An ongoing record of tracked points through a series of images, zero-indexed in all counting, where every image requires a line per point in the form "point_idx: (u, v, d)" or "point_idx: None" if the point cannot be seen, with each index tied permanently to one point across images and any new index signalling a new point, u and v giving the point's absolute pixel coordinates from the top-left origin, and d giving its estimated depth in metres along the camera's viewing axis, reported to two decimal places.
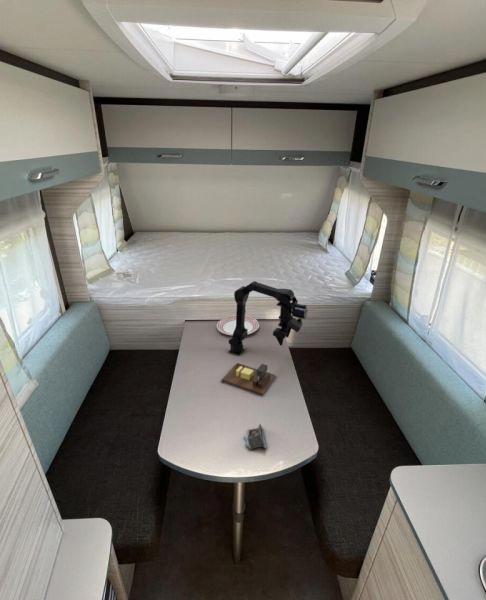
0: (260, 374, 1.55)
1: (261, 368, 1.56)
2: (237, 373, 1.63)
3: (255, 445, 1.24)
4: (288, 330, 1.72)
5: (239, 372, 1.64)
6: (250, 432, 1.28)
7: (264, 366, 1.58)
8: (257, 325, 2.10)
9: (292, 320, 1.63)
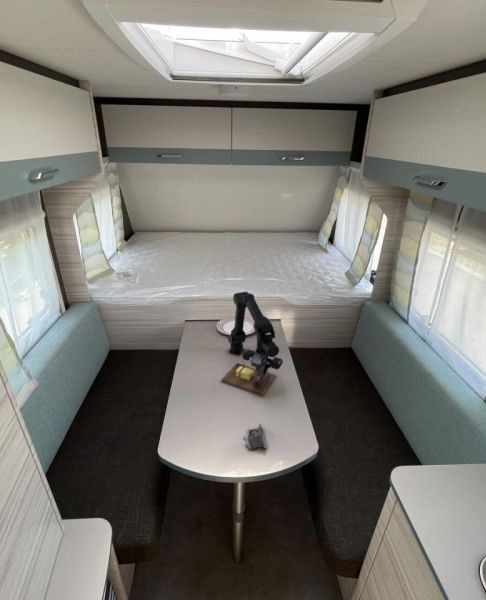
0: (260, 374, 1.55)
1: (261, 368, 1.56)
2: (237, 373, 1.63)
3: (256, 445, 1.24)
4: None
5: (239, 372, 1.64)
6: (250, 432, 1.28)
7: None
8: None
9: (259, 354, 1.50)
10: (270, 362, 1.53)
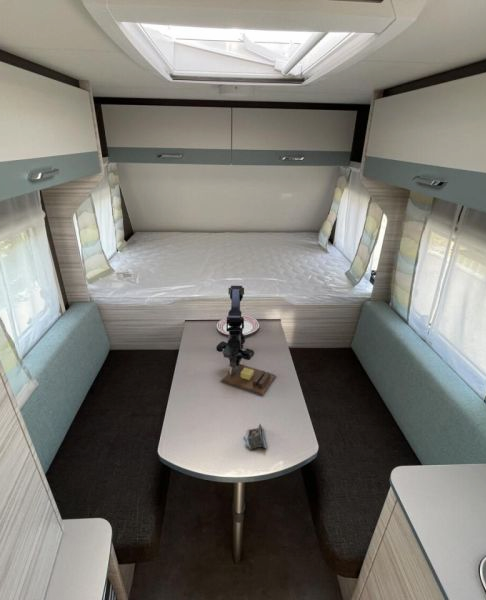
0: (233, 365, 1.61)
1: (234, 360, 1.62)
2: None
3: (256, 445, 1.24)
4: None
5: None
6: (250, 432, 1.28)
7: None
8: (257, 325, 2.10)
9: None
10: (242, 353, 1.59)
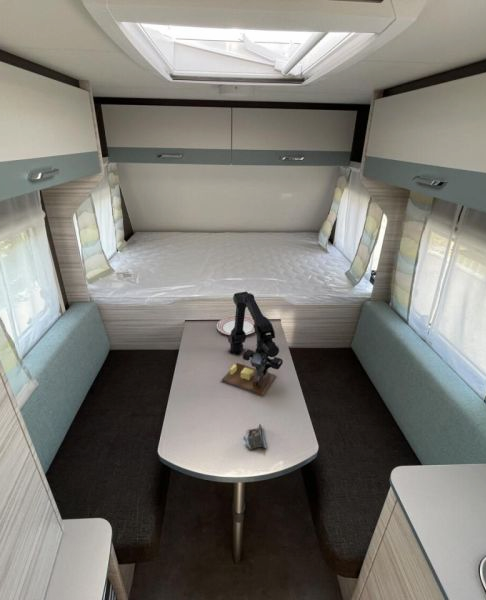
0: (260, 374, 1.55)
1: (261, 368, 1.56)
2: (231, 371, 1.64)
3: (256, 445, 1.24)
4: None
5: (233, 370, 1.65)
6: (250, 432, 1.28)
7: None
8: None
9: (259, 354, 1.50)
10: (270, 362, 1.53)
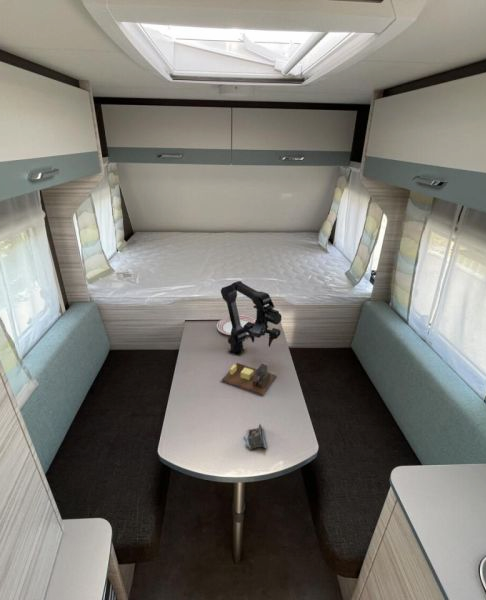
0: (260, 374, 1.55)
1: (261, 368, 1.56)
2: (231, 371, 1.64)
3: (256, 445, 1.24)
4: None
5: (233, 370, 1.65)
6: (250, 432, 1.28)
7: (264, 366, 1.58)
8: None
9: (259, 325, 1.62)
10: None
